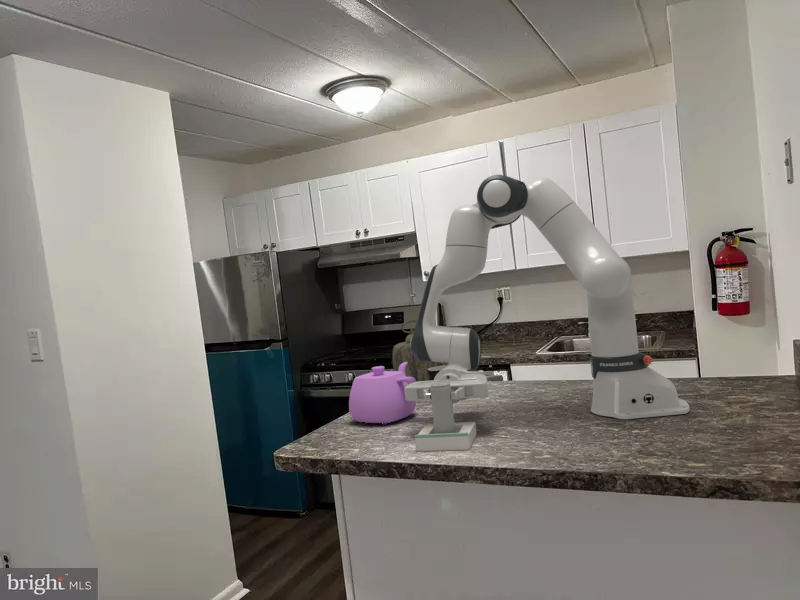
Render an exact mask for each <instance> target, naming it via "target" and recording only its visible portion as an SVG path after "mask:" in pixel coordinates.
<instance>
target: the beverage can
mask: <svg viewBox="0 0 800 600" xmlns="http://www.w3.org/2000/svg"><path fill="white" fill-rule="evenodd" d="M430 391H431V401H430V402H431V410H432V417H433V418H432V419H433V424H434V429H435V434H441V433H456V430H455V423H456V421H455V413H454V403H453V402H452V400H451V397H452V396H451V385H450V383H449V382H440V383H434V384H431V387H430Z"/></svg>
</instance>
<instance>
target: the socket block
mask: <svg viewBox="0 0 800 600" xmlns="http://www.w3.org/2000/svg"><path fill="white" fill-rule="evenodd" d="M455 430H456V433H441V434H435V429H434V423H426V424H425V425H424V426H423V427H422V428H421V430H420V431H419V432H418V434H415V435H414V443H415V451H416V452H437V451H438V452H439V451H442V452H443V451H469V450H470V449H471V447H472V445H473V442H474V441H475V438H476V436H477V434H478V433H477V424H476V421H462V422H455ZM468 449H469V450H468Z"/></svg>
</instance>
